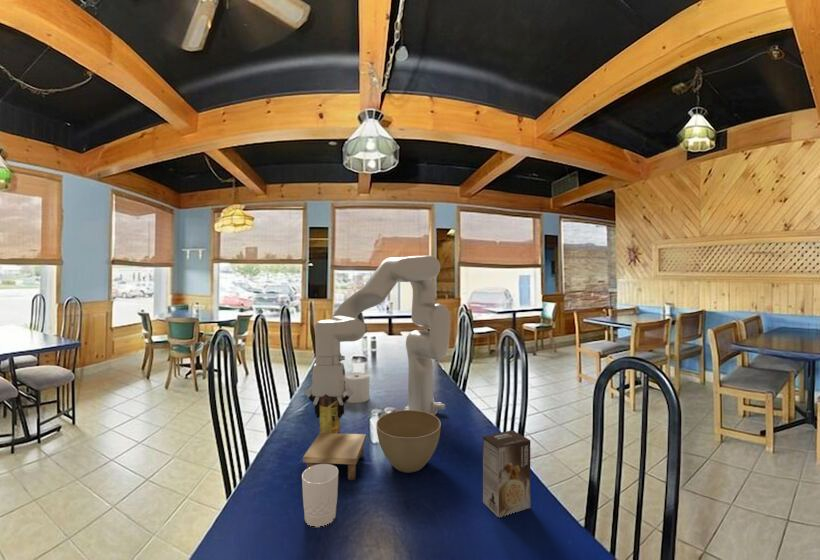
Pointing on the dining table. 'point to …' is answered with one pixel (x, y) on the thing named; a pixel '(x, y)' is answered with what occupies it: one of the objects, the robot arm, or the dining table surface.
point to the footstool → (336, 450)
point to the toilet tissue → (358, 387)
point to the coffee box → (506, 473)
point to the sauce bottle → (329, 414)
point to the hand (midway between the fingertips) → (329, 415)
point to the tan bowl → (408, 438)
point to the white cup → (320, 494)
